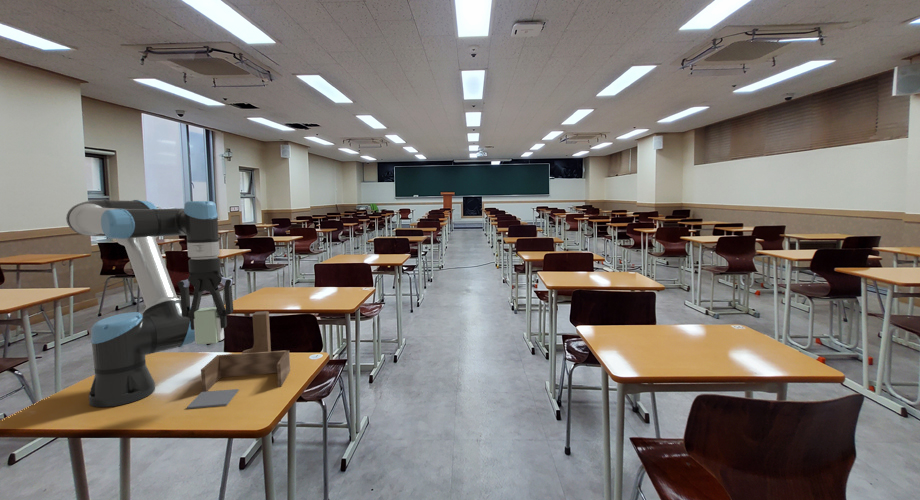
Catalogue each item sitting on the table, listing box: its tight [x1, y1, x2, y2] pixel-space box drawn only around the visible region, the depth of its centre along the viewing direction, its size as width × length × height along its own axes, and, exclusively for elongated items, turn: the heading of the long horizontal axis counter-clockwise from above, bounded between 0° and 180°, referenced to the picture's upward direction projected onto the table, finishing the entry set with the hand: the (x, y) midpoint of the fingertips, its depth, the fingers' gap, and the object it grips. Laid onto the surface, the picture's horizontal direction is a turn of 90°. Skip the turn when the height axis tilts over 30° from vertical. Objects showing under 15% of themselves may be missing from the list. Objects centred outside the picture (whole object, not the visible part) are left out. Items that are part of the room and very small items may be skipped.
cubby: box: [200, 350, 291, 392], centre depth 135 cm, size 22×13×7 cm, turn 100°
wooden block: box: [241, 310, 272, 353], centre depth 150 cm, size 9×4×18 cm, turn 103°
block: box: [194, 306, 219, 345], centre depth 120 cm, size 5×5×9 cm
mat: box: [186, 388, 239, 410], centre depth 123 cm, size 10×10×1 cm
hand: (209, 339), depth 121 cm, fingers closed on block, 5 cm apart
